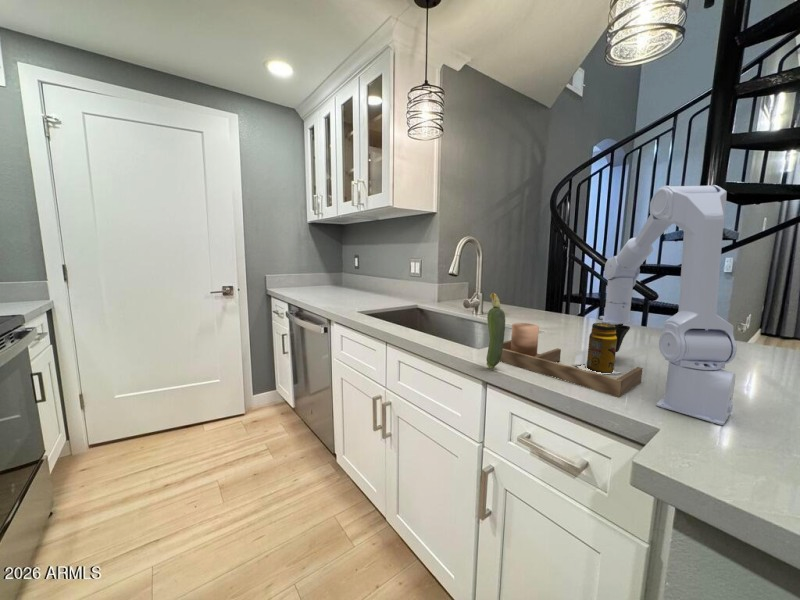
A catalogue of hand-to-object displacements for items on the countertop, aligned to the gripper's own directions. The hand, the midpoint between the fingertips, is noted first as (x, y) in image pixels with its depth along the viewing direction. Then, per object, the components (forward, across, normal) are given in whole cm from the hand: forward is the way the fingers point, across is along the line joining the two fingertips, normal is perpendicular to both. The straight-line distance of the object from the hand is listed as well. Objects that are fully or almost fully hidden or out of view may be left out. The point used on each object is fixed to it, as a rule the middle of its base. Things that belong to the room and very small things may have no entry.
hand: (613, 350), depth 91 cm
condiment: (+3, +11, 0) cm, 11 cm away
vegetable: (+3, +32, -16) cm, 36 cm away
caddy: (+3, +18, -6) cm, 20 cm away
